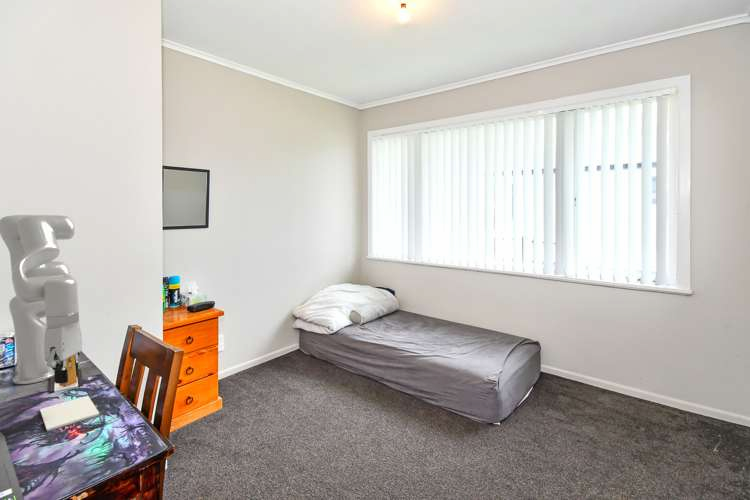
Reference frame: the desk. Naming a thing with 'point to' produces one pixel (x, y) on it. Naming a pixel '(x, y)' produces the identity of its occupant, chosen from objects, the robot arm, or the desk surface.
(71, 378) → the supplement box
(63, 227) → the robot arm
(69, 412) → the mat
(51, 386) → the chocolate bar
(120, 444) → the desk surface
